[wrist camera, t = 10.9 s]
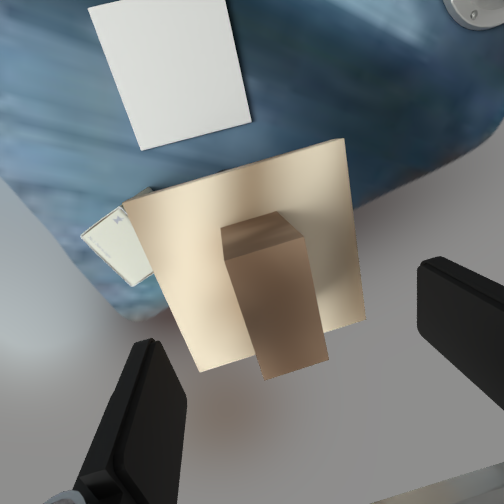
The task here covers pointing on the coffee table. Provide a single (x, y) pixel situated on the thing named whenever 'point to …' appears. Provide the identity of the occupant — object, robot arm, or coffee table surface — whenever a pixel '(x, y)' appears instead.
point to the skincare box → (119, 245)
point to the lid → (257, 258)
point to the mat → (173, 67)
